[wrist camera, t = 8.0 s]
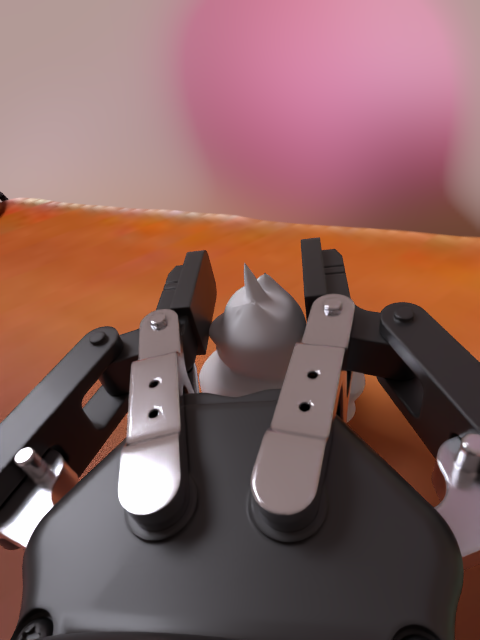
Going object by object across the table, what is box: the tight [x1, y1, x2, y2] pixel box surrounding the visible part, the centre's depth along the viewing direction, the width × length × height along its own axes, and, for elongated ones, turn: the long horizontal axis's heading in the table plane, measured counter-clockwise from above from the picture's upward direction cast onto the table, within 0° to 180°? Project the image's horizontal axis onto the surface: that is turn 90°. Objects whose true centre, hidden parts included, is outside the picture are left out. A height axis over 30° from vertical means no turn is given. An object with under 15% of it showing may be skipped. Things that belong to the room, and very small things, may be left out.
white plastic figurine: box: [199, 263, 365, 422], centre depth 15 cm, size 5×7×8 cm
